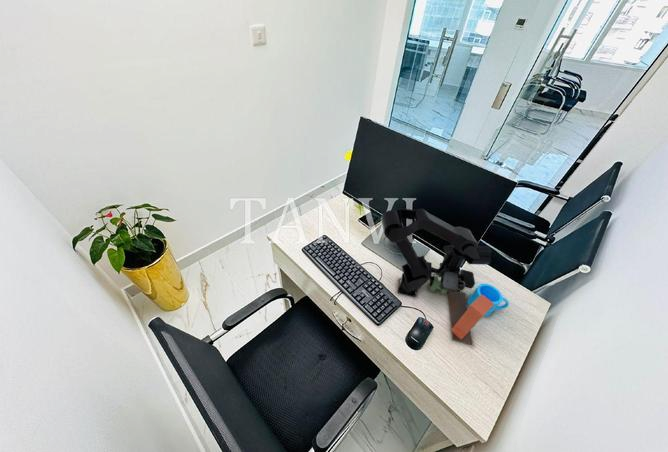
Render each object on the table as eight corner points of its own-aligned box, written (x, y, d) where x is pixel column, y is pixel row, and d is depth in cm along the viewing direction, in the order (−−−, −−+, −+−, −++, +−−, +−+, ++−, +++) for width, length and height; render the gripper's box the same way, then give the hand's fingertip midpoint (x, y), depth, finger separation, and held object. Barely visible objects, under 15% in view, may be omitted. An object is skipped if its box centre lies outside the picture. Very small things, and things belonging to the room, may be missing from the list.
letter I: (450, 330, 84) (470, 305, 74) (461, 319, 88) (481, 294, 77) (461, 340, 82) (483, 315, 71) (471, 328, 85) (494, 303, 74)
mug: (469, 313, 90) (479, 300, 85) (466, 293, 96) (475, 281, 91) (505, 321, 89) (517, 309, 83) (499, 301, 95) (511, 289, 89)
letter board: (452, 339, 83) (453, 338, 82) (447, 290, 97) (448, 289, 96) (471, 345, 82) (472, 344, 81) (464, 294, 96) (465, 293, 96)
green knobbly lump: (445, 294, 96) (450, 286, 92) (429, 290, 97) (433, 282, 93) (444, 286, 98) (449, 279, 95) (429, 283, 99) (433, 275, 96)
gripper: (425, 272, 82) (412, 299, 92) (486, 287, 79) (466, 312, 89) (425, 248, 90) (413, 275, 100) (480, 260, 87) (462, 286, 98)
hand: (437, 287), depth 97 cm, fingers closed on green knobbly lump, 6 cm apart
